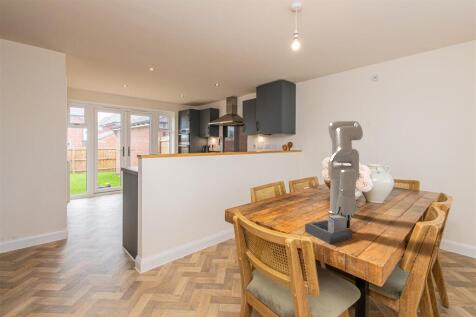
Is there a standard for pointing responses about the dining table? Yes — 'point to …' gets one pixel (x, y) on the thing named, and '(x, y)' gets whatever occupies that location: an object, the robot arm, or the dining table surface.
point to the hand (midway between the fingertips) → (346, 227)
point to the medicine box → (337, 223)
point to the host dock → (319, 232)
